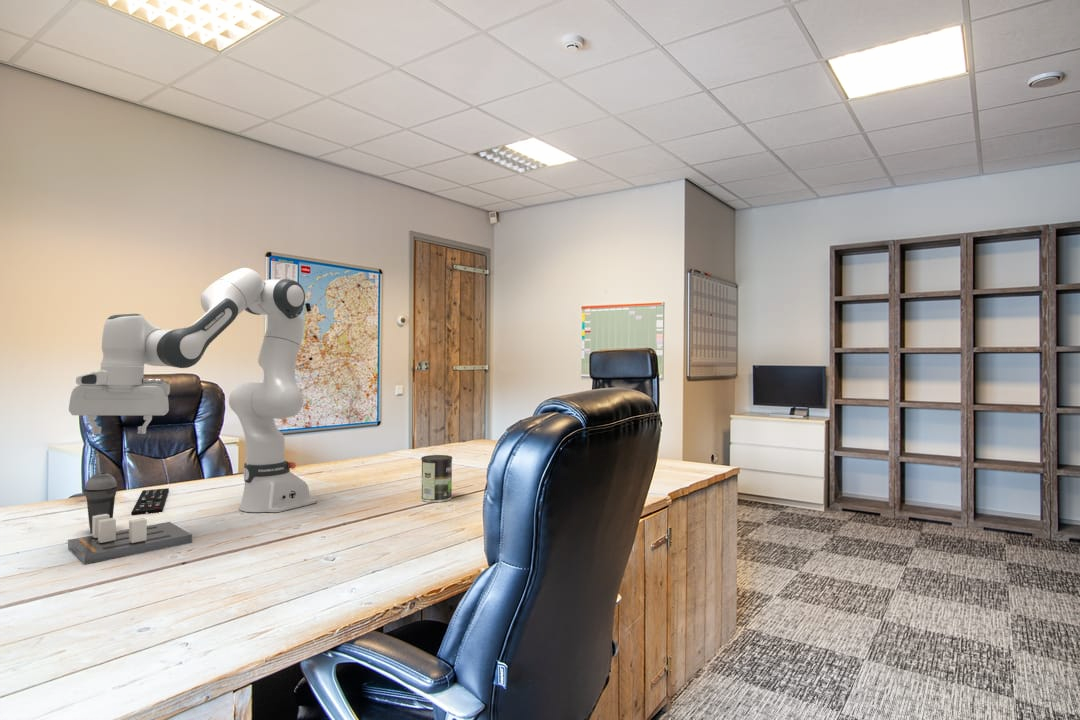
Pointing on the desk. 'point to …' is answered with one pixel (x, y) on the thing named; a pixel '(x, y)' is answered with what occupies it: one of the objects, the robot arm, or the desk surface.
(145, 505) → the remote control
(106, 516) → the block
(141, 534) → the block
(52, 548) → the desk surface
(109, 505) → the beverage cup
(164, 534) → the grey slider panel
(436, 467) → the coffee can
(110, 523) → the block
